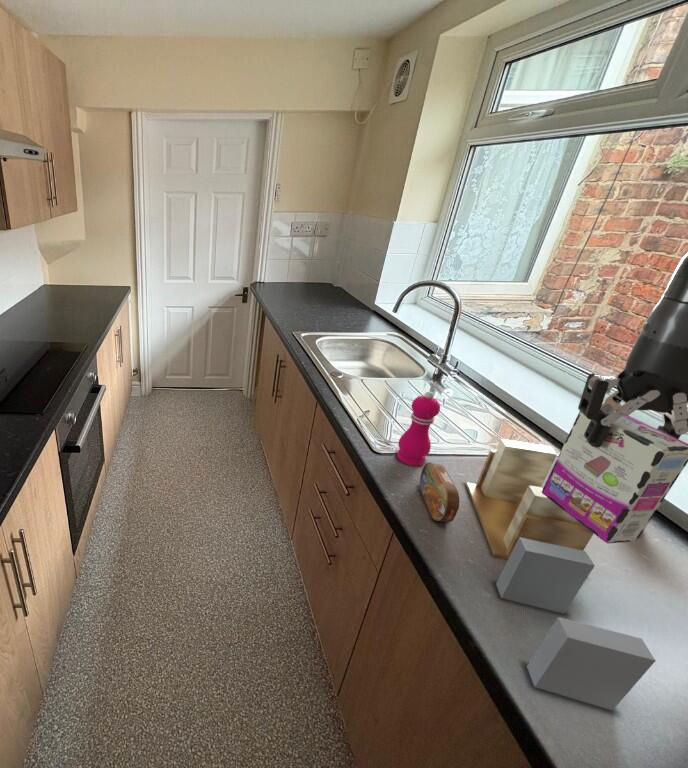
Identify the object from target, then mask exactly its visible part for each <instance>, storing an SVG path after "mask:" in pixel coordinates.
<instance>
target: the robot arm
mask: <svg viewBox="0 0 688 768" xmlns="http://www.w3.org/2000/svg"><path fill="white" fill-rule="evenodd" d="M615 387H616V389H617V390H616V391H614V392H612V394H610V395H609V396H608V397H606V394H609V393H611V391H612V389H613V388H615ZM582 391H583V392H582V394H581V397H580V400H579V403H578V406H577V409H578V411H581V412H582V413H583V414H584V415H585V416H586V417H587V418H588V419H590V420H591V421H590V423H589V425H588V427H587V429H586V431H585V433H584V437H585V438H586V440H587V442H588V443H589V444H590V445H591V446H592V447H601V445H602V443H603V441H604V439H605V437H606V436H607V434H608V432H609V430H610V428H611V426H610V424H612V423H613V422H615V421H616V420H617V419H619V418H620V417H622V416H631V414H633V413H634V412H635V411H652V412H653V411H654V412H656V413H661V414H660V415H661V418H662V424H663V425H658V426H657V428H656V429H658V430H660V431H662V432H664V433H666V434H669V435H671V436H673V437H675V438H677V439H679V440H680V437H681V436H683V435H686V434H687V433H688V405H687V404H688V252H687V253H686V254H685V255H684V256H683V257H682V258H681V259H680V261H679V263H678V265H677V267H676V268H675V270H674V272H673V274H672V276H671V278H670V280H669V281H668V284H667V286H666V287H665V289H664V291H663V294H662V295H661V297H660V299H659V300H658V302H657V303H656V305H655V306H654V307H653V308H652V310H651V312H650V313H649V315H648V316H647V319H646V321H645V323H644V324H643V326H642V329H641V330H640V333H639V335H638V337H637V338H636V341H635V342H634V345H633V347H632V349H631V351H630V353H629V354H628V357H627V359H626V362H625V367H624V369H623V370H622V371H621V372H619V373H618V374H617V375H616V376H601V375H600V374H599V373H596V372H593V373H590V374H588V376H587V378H586V381H585V384H584V387H583V390H582ZM622 401H623V402H624V404H622Z"/></svg>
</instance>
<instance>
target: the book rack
mask: <svg viewBox="0 0 688 768" xmlns="http://www.w3.org/2000/svg"><path fill="white" fill-rule="evenodd" d="M557 457H558V453H557V452H556V451H555V449H554V448H553V447H552V446H550V445H545V444H538V443H531V442H524V441H518V440H512V439H505V438H500V440H499V443H498V445H497V448H496V449H489V452H488V454H487V456H486V459H485V461H484V464H483V466H482V469H481V471H480V473H479V476H478V479H477V481H476V483H474V482H473V483H472V482H466V484H465V487H466V489H467V491H468V494H469V498H470V499H471V502H472V504H473V507H474V509H475V512H476V514H477V517H478V519H479V522H480V524H481V526H482V530H483V532H484V535H485V538H486V540H487V542H488V545H489V547H490V550H491V553H492V555H493V557H496V558H501V559H506V560H508V559H509V557H510V555H511V553H512V551H513V549H514V547H515V545H516V543H517V541H518V539H519V537H521V538H525V539H530V540H535V541H540V542H544V543H549V544H554V545H558V546H563V547H568V548H573V549H577V550H582V551H585V549H586V547H587V545H588V544H589V542H590V541H591V539H592V537H593V535H595V534H594V533H593V532H591V531H590V530H589V529H588V528H586V527H585V526H584V525H582V524H581V523H580V522H578V521H577V520H576V519H574V518H573V517H572V516H571V515H569V514H568V513H567V512H565V511H564V510H563V509H561V508H560V507H559V506H558V505H556V504H555V503H554V502H552V501H551V500H550V499H549V498H547V497H546V496H545V495H544V494H542V490H543V488H544V487H542V486H543V484H544V482H545V480H546V478H547V476H548V474H549V472H550V470H551V468H552V466H553V464H554V461H556V460H555V459H557Z"/></svg>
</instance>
